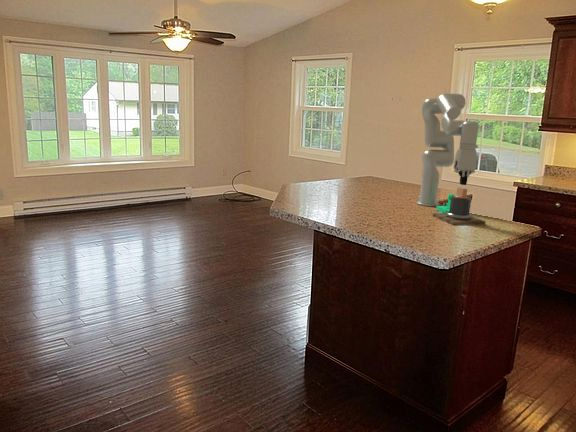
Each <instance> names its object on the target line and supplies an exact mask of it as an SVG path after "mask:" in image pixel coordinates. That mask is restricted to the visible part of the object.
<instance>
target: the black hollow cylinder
mask: <svg viewBox="0 0 576 432" xmlns="http://www.w3.org/2000/svg"><path fill="white" fill-rule="evenodd" d="M471 203H472V198H471V197H468V199H458V198H455V197H454V196H451V201H450V210H449V211H447V213H446V217H448V218H451V219H456V220H470V219H471V217H472V216H473V214H472V213H470V212H471V211H470V210H471V205H472V204H471Z"/></svg>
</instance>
